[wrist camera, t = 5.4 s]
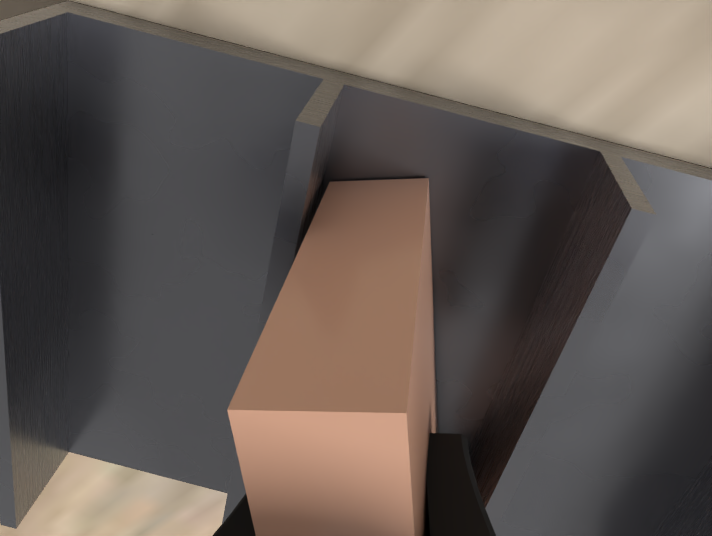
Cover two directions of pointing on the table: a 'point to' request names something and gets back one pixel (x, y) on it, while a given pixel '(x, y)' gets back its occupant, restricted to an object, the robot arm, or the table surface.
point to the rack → (280, 247)
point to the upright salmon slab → (346, 373)
